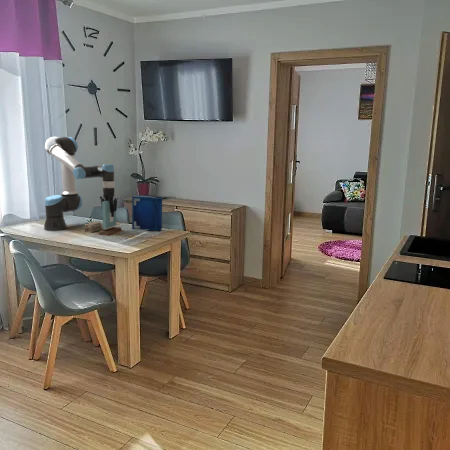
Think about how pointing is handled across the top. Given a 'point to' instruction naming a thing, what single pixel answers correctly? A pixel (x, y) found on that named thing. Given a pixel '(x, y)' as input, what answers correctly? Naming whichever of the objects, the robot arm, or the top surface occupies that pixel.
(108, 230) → the slot rack
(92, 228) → the offcut stack
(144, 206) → the book
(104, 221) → the teal slotted panel
